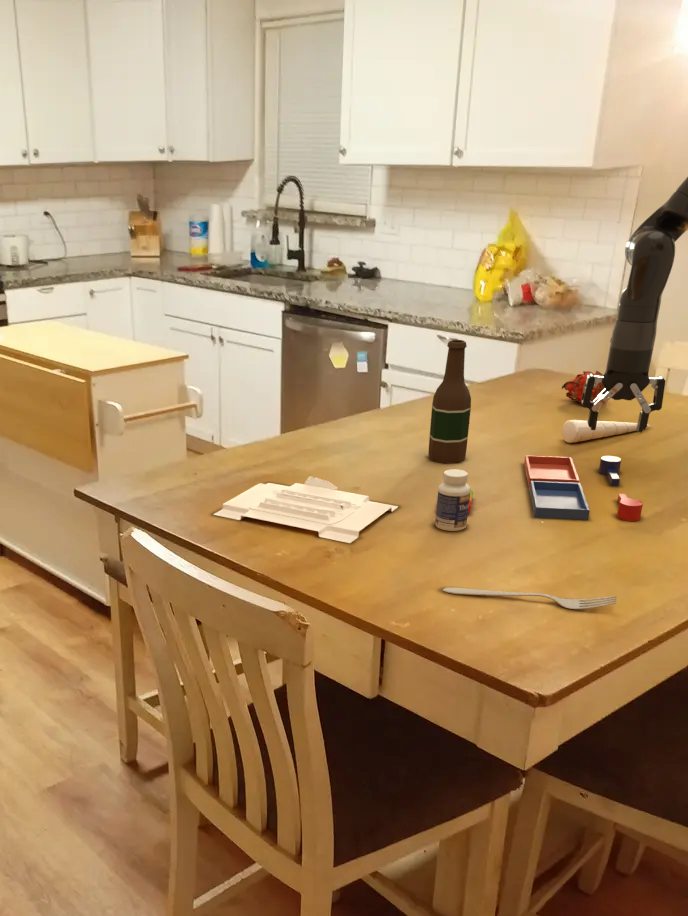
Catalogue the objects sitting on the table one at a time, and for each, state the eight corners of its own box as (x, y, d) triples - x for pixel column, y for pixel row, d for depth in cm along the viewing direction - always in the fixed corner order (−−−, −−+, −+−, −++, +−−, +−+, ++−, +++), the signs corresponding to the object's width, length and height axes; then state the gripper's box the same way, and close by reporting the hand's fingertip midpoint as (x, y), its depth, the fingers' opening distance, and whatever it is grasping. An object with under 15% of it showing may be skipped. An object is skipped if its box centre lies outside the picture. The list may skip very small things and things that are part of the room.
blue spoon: (597, 468, 191) (599, 455, 189) (617, 469, 190) (620, 456, 188) (604, 485, 182) (606, 471, 181) (625, 486, 181) (628, 472, 180)
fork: (444, 585, 145) (445, 575, 144) (614, 605, 137) (616, 594, 136) (441, 594, 142) (442, 583, 141) (615, 615, 135) (617, 603, 134)
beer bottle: (463, 465, 195) (475, 345, 184) (424, 462, 198) (434, 344, 186) (467, 454, 201) (479, 337, 190) (430, 451, 204) (440, 336, 193)
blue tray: (579, 492, 179) (580, 482, 178) (588, 520, 167) (589, 510, 166) (529, 490, 181) (530, 480, 180) (534, 517, 168) (536, 507, 168)
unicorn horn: (662, 432, 211) (666, 410, 209) (572, 445, 204) (576, 423, 202) (647, 426, 215) (651, 405, 213) (558, 440, 208) (561, 418, 206)
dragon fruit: (612, 413, 231) (561, 414, 238) (618, 386, 235) (567, 388, 241) (609, 389, 225) (556, 391, 231) (615, 362, 228) (563, 365, 234)
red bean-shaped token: (641, 521, 165) (644, 506, 164) (618, 520, 166) (621, 505, 165) (632, 501, 174) (635, 487, 173) (610, 500, 175) (613, 486, 173)
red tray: (570, 466, 193) (571, 457, 192) (578, 489, 180) (579, 480, 179) (524, 464, 195) (525, 455, 194) (528, 487, 182) (529, 478, 181)
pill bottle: (461, 534, 163) (467, 479, 158) (430, 529, 165) (435, 475, 160) (470, 523, 167) (476, 470, 162) (440, 518, 169) (445, 466, 165)
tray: (351, 543, 160) (351, 522, 159) (212, 520, 175) (211, 501, 173) (399, 506, 175) (399, 487, 174) (268, 487, 190) (267, 469, 188)
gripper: (594, 347, 175) (579, 434, 183) (677, 349, 172) (658, 437, 180) (589, 339, 181) (575, 423, 189) (668, 341, 178) (651, 426, 186)
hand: (615, 430), depth 184 cm, fingers open, 8 cm apart
